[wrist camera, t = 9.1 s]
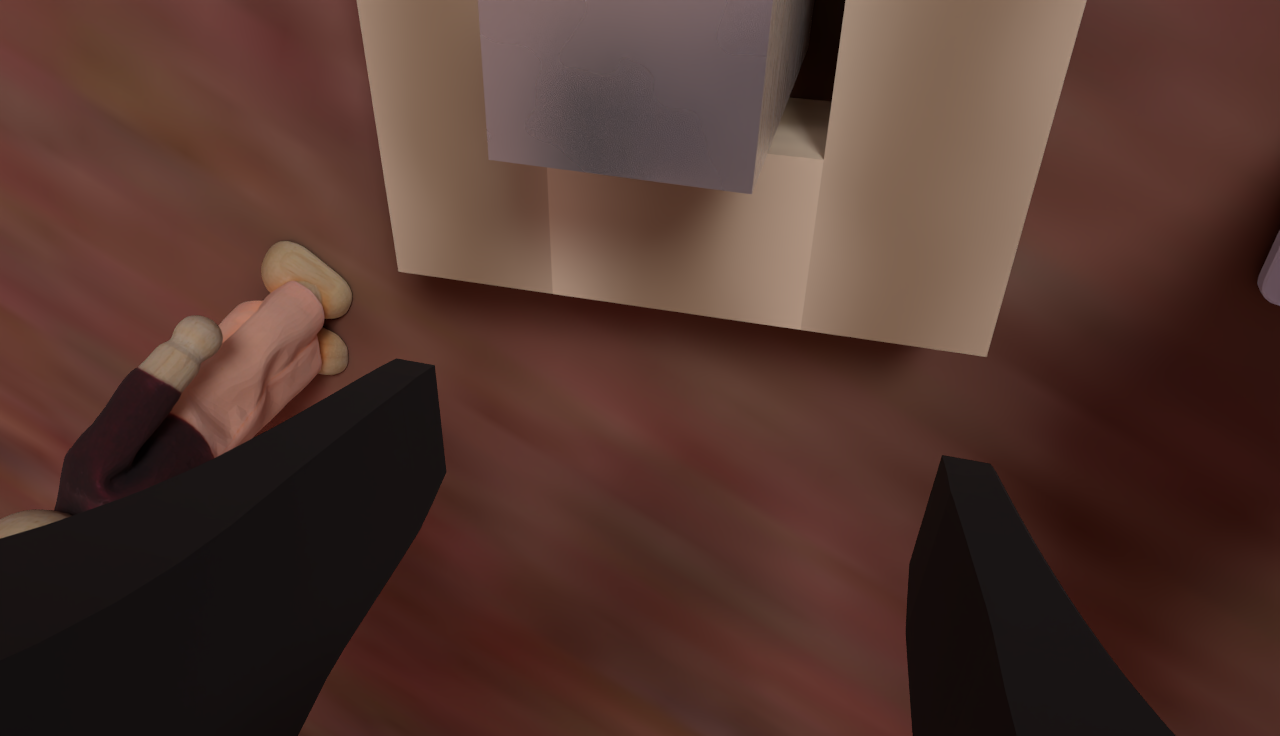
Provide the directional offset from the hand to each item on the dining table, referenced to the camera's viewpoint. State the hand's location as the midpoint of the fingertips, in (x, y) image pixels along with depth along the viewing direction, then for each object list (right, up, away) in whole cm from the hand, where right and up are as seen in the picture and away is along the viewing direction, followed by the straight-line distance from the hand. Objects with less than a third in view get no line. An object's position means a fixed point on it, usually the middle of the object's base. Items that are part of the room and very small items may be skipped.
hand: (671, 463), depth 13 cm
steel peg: (+1, +10, +6) cm, 12 cm away
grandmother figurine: (-10, +3, +15) cm, 18 cm away
